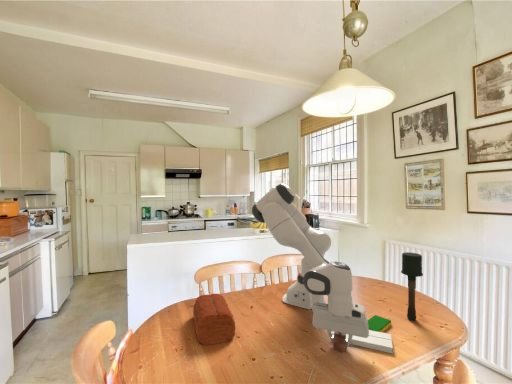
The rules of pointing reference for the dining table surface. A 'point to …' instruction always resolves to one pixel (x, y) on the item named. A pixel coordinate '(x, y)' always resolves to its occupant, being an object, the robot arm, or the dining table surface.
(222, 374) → the dining table surface
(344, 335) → the block
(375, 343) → the board
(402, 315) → the dining table surface
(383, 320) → the dish sponge
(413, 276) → the potato masher grenade
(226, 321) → the bread
